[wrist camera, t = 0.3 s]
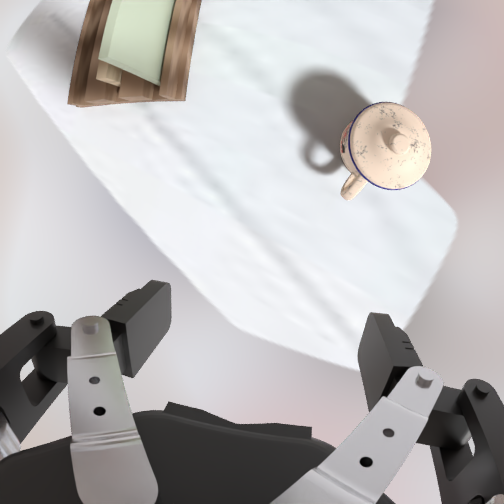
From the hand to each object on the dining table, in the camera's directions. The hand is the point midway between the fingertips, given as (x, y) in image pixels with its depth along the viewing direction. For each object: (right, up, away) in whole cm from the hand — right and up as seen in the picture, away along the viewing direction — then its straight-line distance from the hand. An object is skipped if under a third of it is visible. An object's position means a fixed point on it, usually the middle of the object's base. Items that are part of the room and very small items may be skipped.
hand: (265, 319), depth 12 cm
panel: (-11, +32, +21) cm, 40 cm away
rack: (-17, +33, +23) cm, 44 cm away
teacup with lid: (+14, +15, +24) cm, 31 cm away
